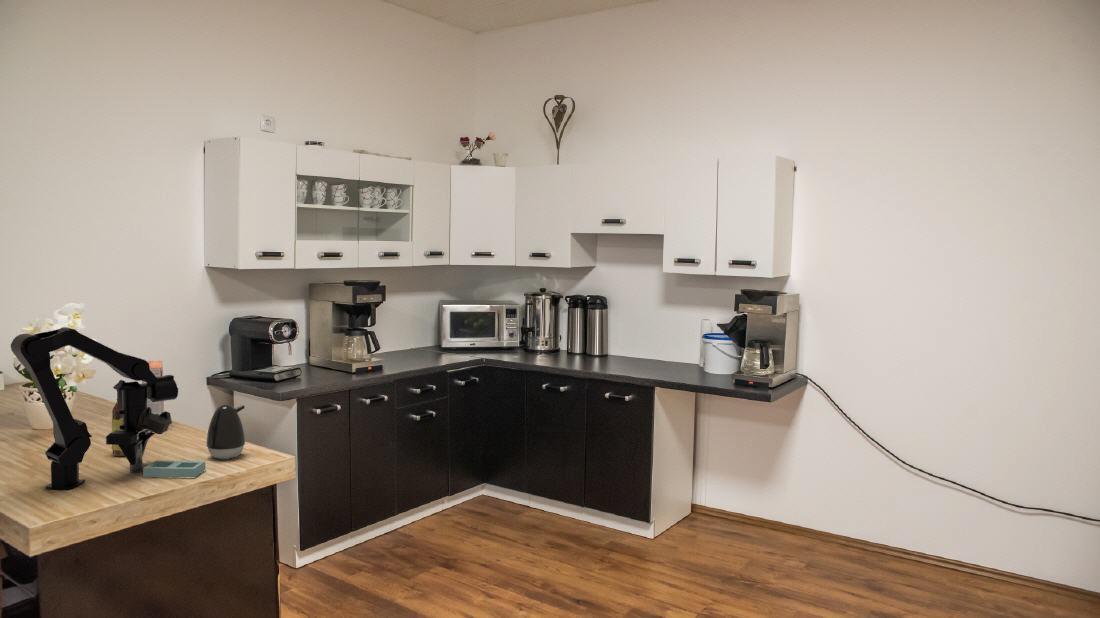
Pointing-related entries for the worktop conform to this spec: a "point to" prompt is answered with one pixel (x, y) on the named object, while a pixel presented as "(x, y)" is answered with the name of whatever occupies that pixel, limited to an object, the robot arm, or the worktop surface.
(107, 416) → the worktop surface
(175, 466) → the pegboard
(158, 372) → the cracker box
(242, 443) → the pump dispenser
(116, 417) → the sauce bottle
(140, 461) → the peg
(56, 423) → the robot arm
